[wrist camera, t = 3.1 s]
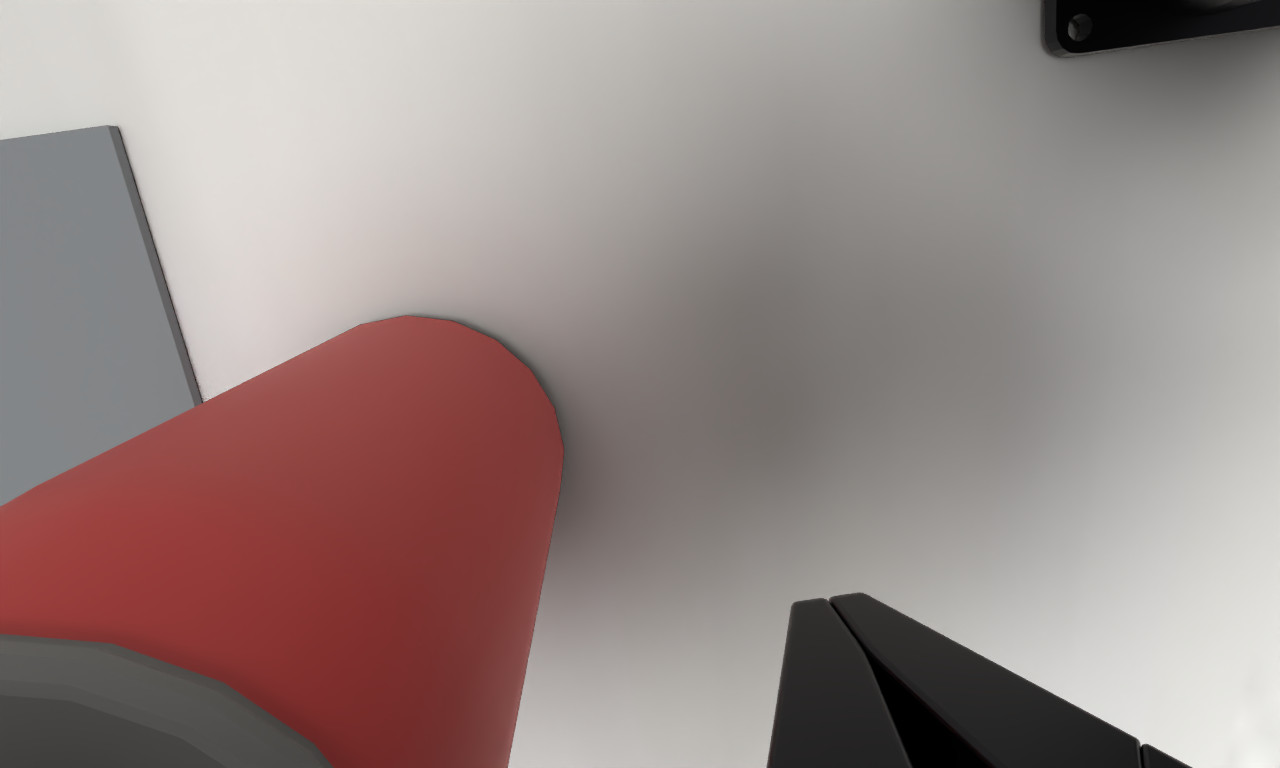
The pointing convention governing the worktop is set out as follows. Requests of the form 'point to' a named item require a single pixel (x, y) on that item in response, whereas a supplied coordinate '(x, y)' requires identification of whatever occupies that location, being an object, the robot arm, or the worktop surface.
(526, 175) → the worktop surface
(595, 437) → the worktop surface
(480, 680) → the beer can
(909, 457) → the worktop surface
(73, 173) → the mat
